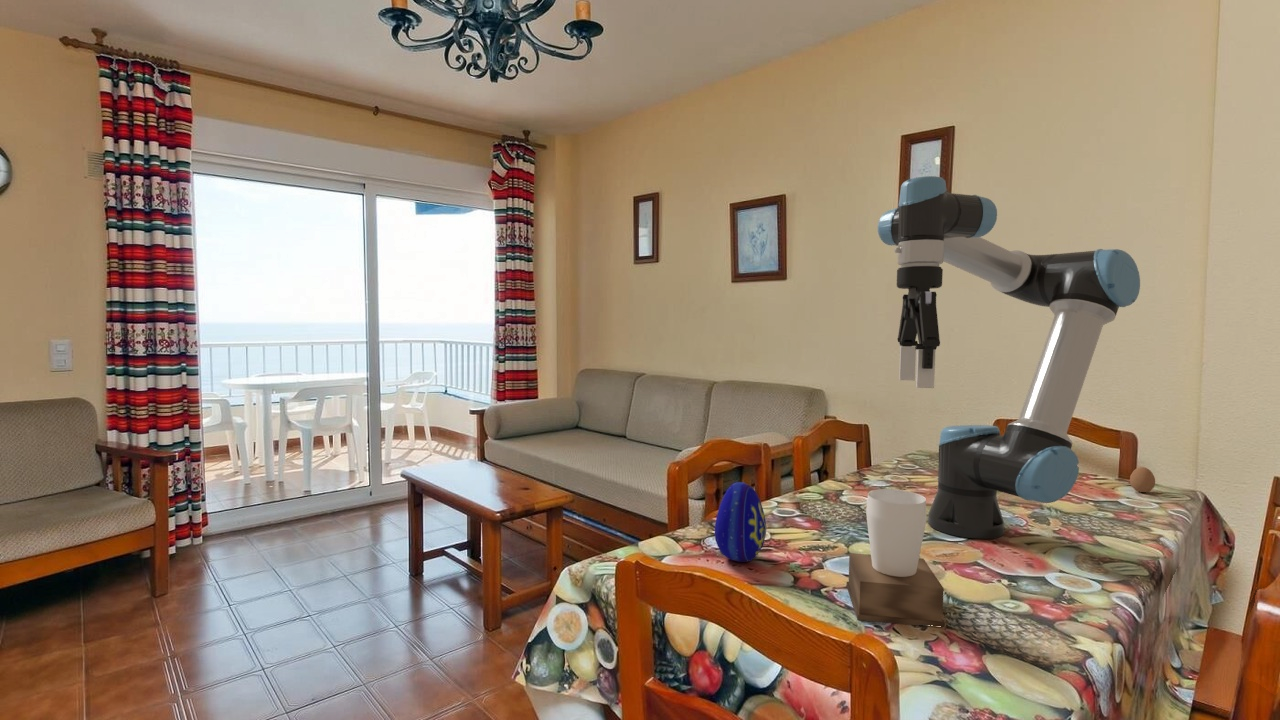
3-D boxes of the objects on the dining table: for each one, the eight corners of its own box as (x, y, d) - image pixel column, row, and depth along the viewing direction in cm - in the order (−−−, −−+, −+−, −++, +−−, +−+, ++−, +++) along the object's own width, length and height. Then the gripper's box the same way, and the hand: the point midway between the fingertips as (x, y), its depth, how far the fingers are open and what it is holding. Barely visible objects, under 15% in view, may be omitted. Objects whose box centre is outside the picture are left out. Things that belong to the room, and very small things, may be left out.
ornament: (750, 573, 115) (752, 492, 114) (705, 563, 119) (706, 485, 119) (772, 554, 124) (773, 479, 123) (729, 545, 129) (730, 473, 128)
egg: (1159, 495, 169) (1161, 469, 168) (1139, 495, 169) (1140, 469, 168) (1144, 490, 174) (1145, 465, 174) (1124, 489, 174) (1125, 464, 174)
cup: (930, 583, 97) (933, 506, 96) (868, 577, 99) (871, 502, 98) (917, 561, 106) (919, 490, 105) (860, 556, 107) (862, 487, 107)
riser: (923, 592, 107) (924, 558, 107) (944, 627, 95) (946, 589, 95) (846, 585, 110) (847, 552, 109) (857, 619, 97) (858, 581, 97)
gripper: (884, 271, 126) (880, 377, 128) (914, 260, 102) (909, 390, 103) (924, 271, 125) (920, 378, 126) (964, 259, 100) (958, 392, 102)
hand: (915, 384), depth 115 cm, fingers open, 13 cm apart
